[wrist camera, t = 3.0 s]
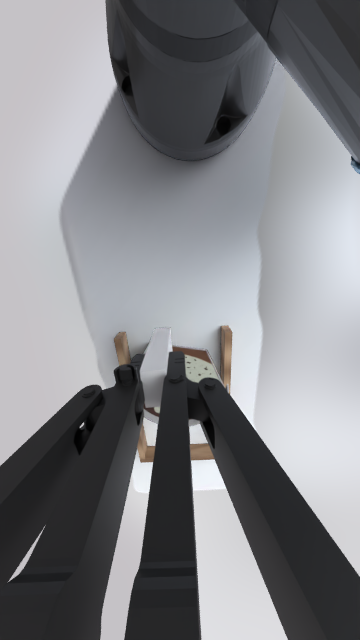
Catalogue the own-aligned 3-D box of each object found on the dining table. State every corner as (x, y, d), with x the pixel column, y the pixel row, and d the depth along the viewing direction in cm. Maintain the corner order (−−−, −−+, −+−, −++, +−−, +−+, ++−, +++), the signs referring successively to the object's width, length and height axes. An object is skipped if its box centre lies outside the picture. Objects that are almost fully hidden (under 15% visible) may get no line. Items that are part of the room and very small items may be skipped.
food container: (138, 372, 30) (119, 424, 21) (140, 340, 28) (121, 383, 19) (208, 381, 31) (220, 435, 22) (216, 350, 29) (233, 396, 20)
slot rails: (119, 332, 28) (109, 345, 24) (228, 325, 27) (236, 337, 23) (143, 449, 37) (138, 473, 33) (224, 446, 37) (229, 469, 33)
